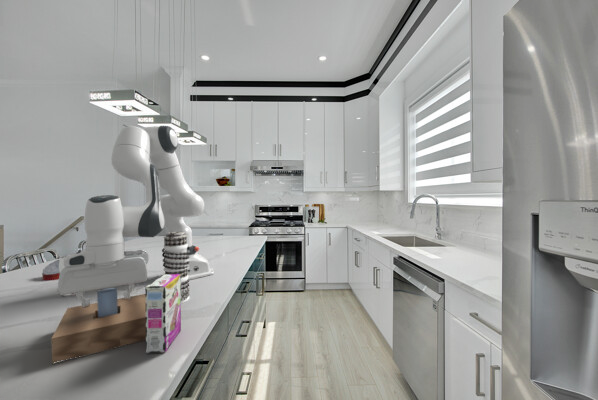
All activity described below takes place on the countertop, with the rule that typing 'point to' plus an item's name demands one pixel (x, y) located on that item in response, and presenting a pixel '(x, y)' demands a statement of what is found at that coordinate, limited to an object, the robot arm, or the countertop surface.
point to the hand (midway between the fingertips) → (107, 302)
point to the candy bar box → (163, 312)
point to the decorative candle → (177, 259)
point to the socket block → (99, 329)
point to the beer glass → (61, 266)
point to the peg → (107, 302)
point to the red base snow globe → (51, 271)
